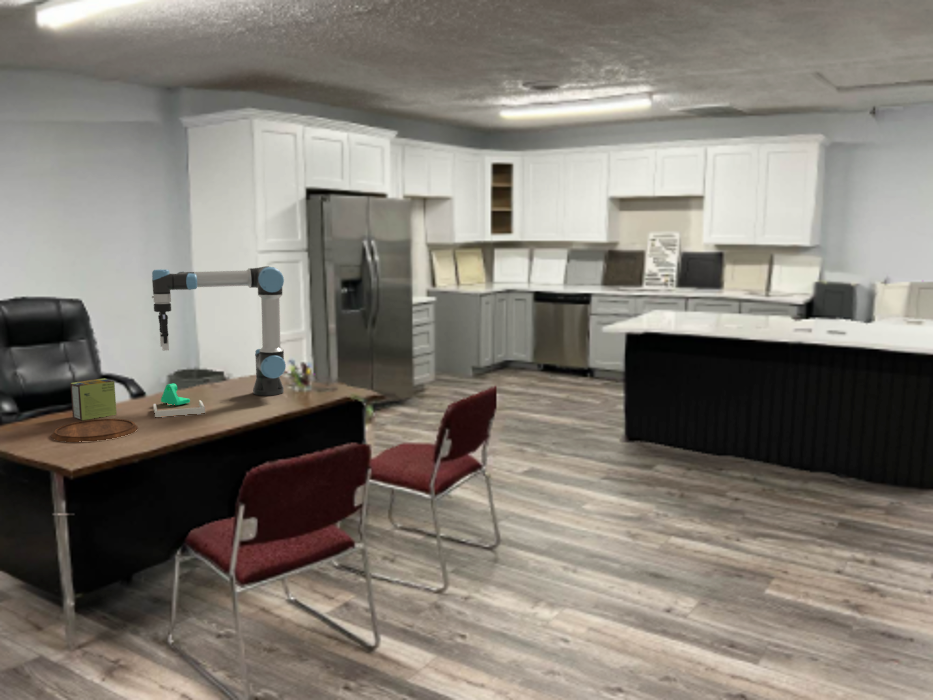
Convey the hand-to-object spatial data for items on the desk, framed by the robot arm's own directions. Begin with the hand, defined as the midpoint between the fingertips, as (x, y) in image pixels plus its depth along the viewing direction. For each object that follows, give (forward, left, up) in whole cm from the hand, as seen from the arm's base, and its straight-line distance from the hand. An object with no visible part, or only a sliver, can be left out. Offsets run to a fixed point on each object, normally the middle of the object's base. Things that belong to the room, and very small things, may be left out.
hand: (164, 348), depth 363 cm
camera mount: (-4, -4, -28) cm, 28 cm away
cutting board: (+30, +40, -28) cm, 58 cm away
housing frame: (-4, +15, -28) cm, 32 cm away
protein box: (+31, +8, -28) cm, 42 cm away
